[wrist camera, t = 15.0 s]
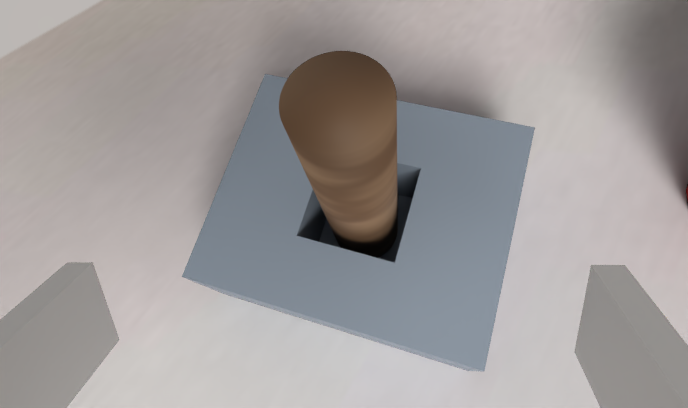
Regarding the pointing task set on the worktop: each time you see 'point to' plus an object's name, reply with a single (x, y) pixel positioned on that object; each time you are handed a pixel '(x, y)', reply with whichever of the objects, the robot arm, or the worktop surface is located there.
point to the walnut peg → (347, 145)
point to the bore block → (402, 258)
